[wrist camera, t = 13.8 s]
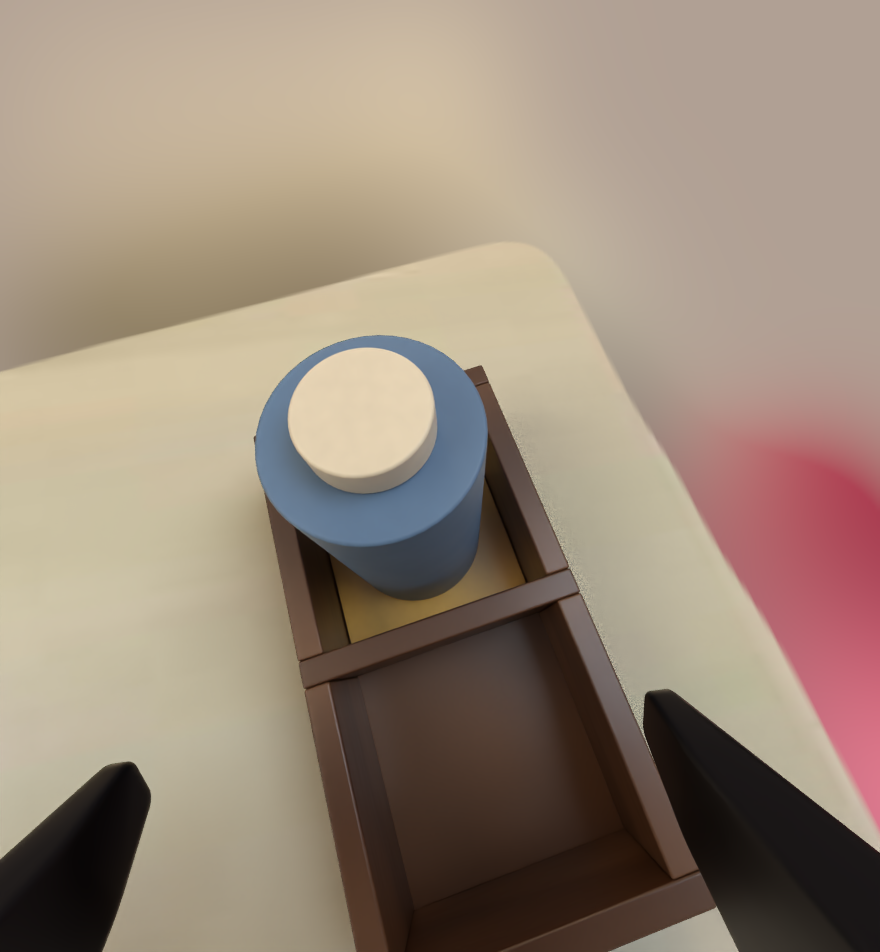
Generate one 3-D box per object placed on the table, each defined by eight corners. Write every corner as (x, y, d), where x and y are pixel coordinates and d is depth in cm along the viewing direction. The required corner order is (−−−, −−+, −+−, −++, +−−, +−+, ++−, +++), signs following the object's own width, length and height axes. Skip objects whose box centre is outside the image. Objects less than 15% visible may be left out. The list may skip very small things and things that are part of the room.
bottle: (478, 602, 18) (491, 535, 8) (346, 599, 18) (208, 533, 9) (478, 476, 20) (488, 302, 10) (357, 476, 20) (255, 306, 11)
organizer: (651, 841, 16) (718, 908, 11) (400, 940, 15) (374, 1049, 11) (479, 420, 22) (482, 364, 18) (295, 480, 21) (252, 435, 17)
